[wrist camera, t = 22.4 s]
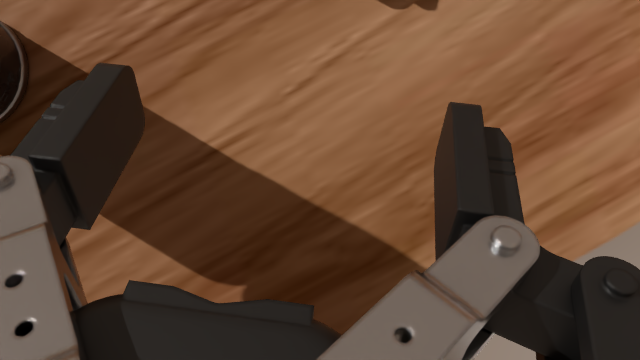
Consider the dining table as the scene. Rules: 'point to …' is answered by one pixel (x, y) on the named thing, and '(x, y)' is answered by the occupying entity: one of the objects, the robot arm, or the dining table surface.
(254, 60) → the dining table surface
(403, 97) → the dining table surface
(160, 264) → the dining table surface
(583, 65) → the dining table surface
